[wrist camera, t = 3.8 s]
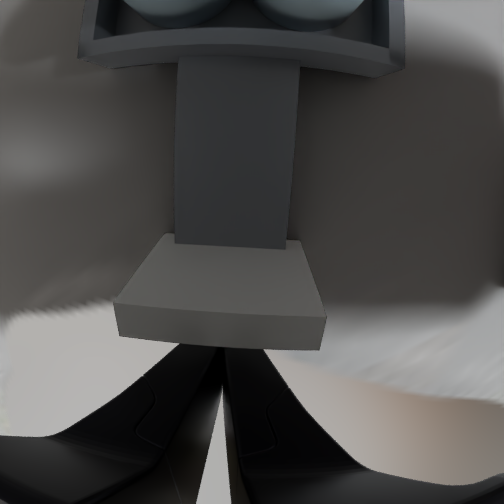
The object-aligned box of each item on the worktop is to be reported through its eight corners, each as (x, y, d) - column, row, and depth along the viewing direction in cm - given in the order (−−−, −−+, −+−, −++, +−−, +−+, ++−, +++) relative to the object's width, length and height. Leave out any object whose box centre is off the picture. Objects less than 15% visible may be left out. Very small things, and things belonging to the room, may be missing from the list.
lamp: (373, -42, 6) (426, -104, 2) (351, 268, 10) (398, 348, 6) (129, -50, 6) (74, -109, 2) (114, 254, 10) (51, 324, 6)
